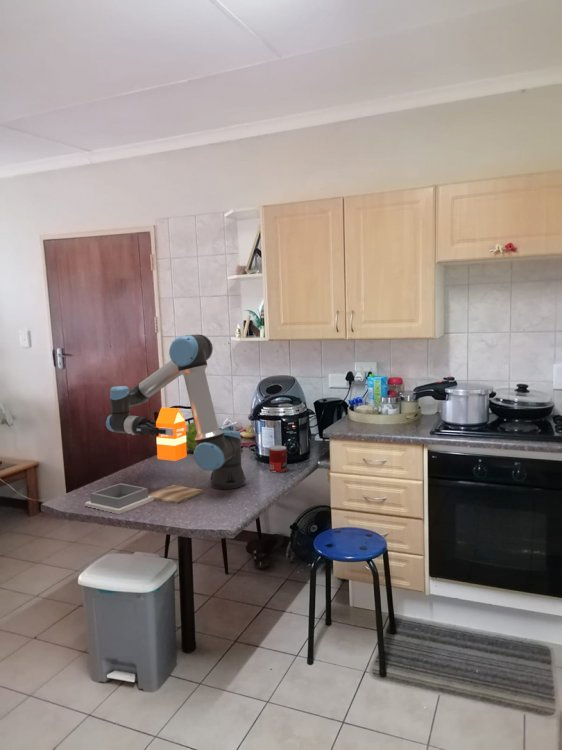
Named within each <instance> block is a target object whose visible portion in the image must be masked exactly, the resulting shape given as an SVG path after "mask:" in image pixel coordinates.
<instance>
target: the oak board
mask: <svg viewBox="0 0 562 750" xmlns="http://www.w3.org/2000/svg"><path fill="white" fill-rule="evenodd" d="M203 492H204V489H199V488H193V487H189V486H188V487H187V486H183V485H177V484H171V485H169V486H167V487H164V488H162V489H159V490H156V491H154V492H151V493H148V496H153V497H154V500H155V499H156V501H160V500H161V502H165V501H167V502H166V503H170V502H172V503H171V504H175V503H178V504H180V503H179V502H181V503H182V501H183V502H185V501H187V500H189V498H190V499H191V497H192V498H194V497H196V495H197V496H198V494H199V495H202V494H203ZM186 499H187V500H186ZM184 500H185V501H184Z"/></svg>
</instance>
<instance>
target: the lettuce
mask: <svg viewBox="0 0 562 750" xmlns="http://www.w3.org/2000/svg"><path fill="white" fill-rule="evenodd" d="M187 425H188V430H189V431H188V432H186V449H188V450H190V451H191V452H193V453H194V450H195V448H196V443H195V437H196V436H197V430H196V426H195V421H193V422H190V423H189V424H187Z"/></svg>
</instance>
